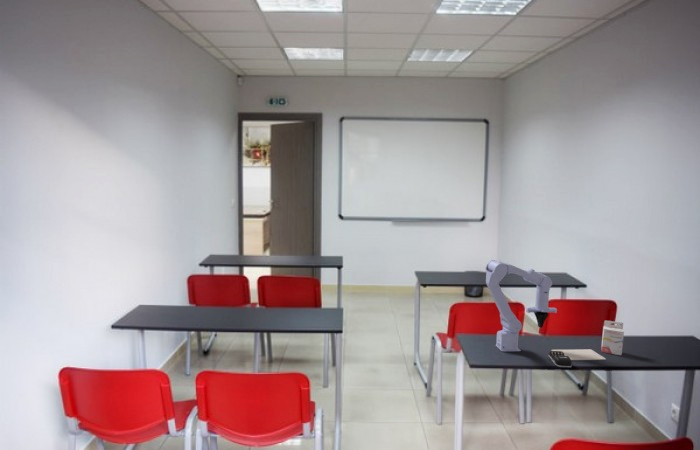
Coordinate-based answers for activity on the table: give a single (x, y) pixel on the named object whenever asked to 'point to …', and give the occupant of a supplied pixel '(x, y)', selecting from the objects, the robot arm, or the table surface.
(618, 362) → the table surface
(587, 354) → the mat
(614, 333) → the ink cartridge box
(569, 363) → the battery charger
